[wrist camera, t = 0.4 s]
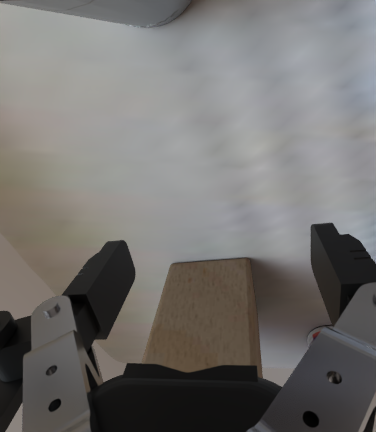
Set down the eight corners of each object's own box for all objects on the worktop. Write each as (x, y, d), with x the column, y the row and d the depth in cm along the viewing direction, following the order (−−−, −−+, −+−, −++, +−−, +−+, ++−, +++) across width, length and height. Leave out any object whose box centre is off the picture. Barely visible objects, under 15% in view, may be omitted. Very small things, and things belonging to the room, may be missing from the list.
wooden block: (169, 262, 36) (111, 453, 19) (249, 255, 34) (263, 466, 17) (186, 316, 41) (151, 507, 24) (257, 313, 39) (274, 523, 22)
